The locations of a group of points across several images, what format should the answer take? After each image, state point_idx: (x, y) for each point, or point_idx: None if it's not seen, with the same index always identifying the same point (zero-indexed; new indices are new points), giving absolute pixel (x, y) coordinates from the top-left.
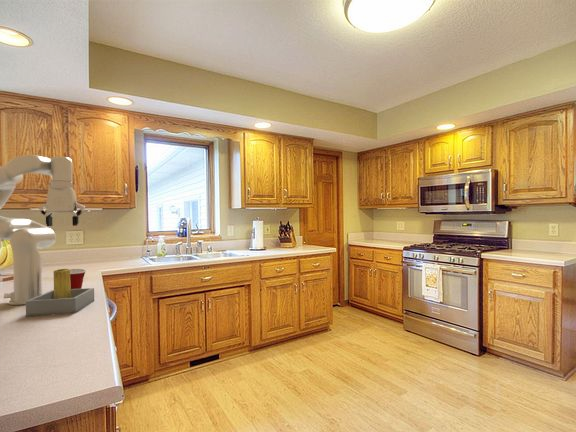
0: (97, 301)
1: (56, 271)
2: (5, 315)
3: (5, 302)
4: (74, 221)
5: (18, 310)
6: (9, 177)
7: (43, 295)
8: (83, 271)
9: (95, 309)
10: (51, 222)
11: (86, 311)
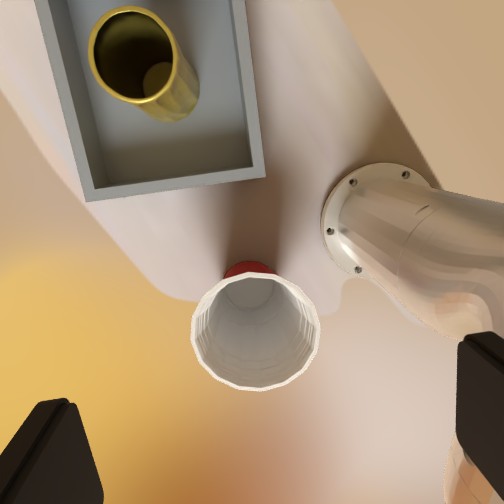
0: None
1: (138, 6)
2: (331, 7)
3: None
4: (6, 470)
5: (328, 80)
6: None
7: (241, 77)
8: (223, 369)
9: (4, 41)
10: (495, 461)
11: (24, 12)
